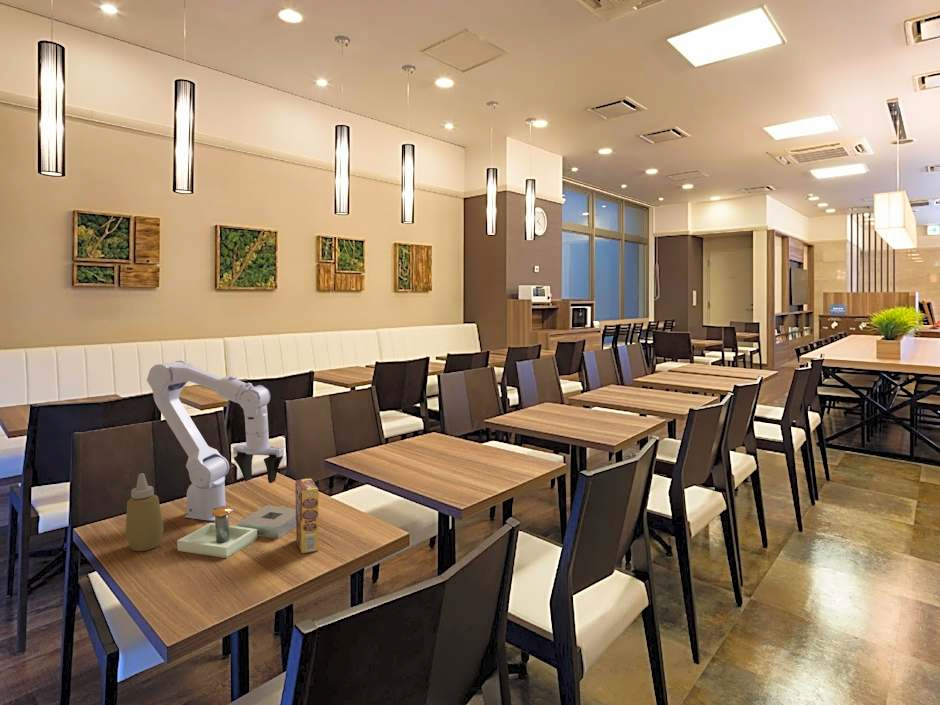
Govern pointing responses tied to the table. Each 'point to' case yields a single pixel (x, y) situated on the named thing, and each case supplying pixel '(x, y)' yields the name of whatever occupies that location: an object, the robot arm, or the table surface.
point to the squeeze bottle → (143, 517)
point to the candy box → (307, 515)
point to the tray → (207, 545)
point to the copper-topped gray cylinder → (222, 523)
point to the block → (271, 521)
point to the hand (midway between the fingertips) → (260, 480)
